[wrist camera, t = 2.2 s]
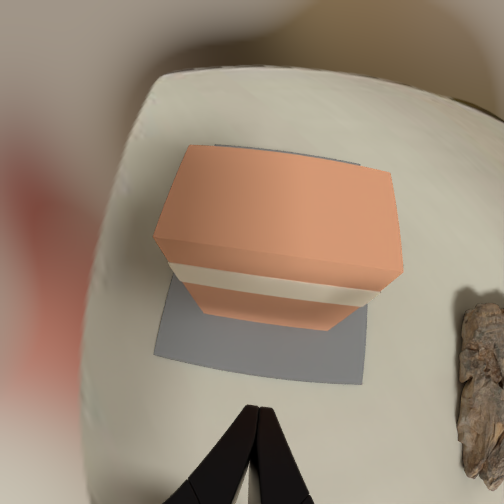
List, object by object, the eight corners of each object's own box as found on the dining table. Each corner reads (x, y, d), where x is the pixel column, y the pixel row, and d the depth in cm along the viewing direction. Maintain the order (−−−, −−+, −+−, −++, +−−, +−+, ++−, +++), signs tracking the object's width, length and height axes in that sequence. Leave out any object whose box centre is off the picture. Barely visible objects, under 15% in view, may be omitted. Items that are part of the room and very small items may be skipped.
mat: (359, 384, 18) (361, 384, 18) (155, 355, 20) (153, 354, 19) (359, 166, 28) (360, 164, 28) (215, 147, 29) (214, 144, 29)
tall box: (327, 331, 20) (404, 273, 9) (203, 313, 21) (151, 237, 10) (332, 270, 22) (390, 172, 11) (216, 254, 23) (188, 144, 12)
